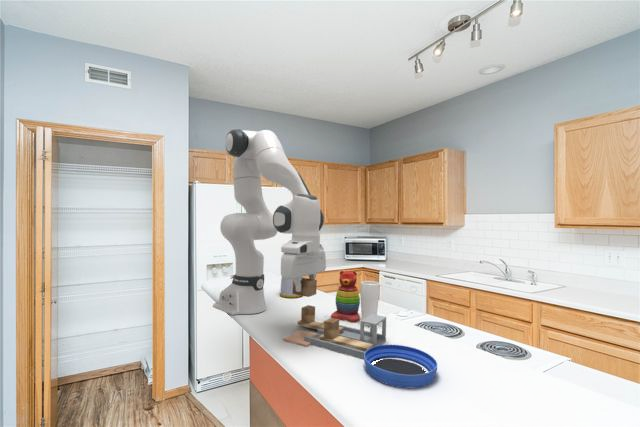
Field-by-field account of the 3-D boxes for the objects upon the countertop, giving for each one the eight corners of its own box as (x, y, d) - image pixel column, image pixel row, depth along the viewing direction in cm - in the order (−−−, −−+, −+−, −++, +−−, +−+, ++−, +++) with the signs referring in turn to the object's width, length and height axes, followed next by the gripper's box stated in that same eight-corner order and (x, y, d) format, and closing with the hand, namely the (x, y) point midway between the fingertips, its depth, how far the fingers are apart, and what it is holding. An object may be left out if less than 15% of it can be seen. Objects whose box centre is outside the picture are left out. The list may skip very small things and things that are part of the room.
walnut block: (292, 294, 103) (292, 279, 103) (300, 291, 107) (301, 277, 107) (308, 296, 100) (308, 282, 100) (316, 294, 104) (316, 279, 104)
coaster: (282, 340, 102) (282, 338, 102) (299, 331, 110) (299, 330, 110) (306, 346, 97) (306, 344, 97) (322, 337, 105) (322, 335, 105)
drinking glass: (378, 327, 116) (379, 285, 116) (358, 326, 117) (359, 283, 117) (378, 321, 122) (379, 281, 122) (360, 320, 124) (361, 280, 124)
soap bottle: (306, 294, 162) (308, 240, 162) (298, 299, 151) (299, 242, 151) (285, 291, 166) (287, 239, 166) (275, 297, 155) (277, 241, 155)
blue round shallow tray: (426, 399, 71) (426, 382, 72) (351, 375, 81) (352, 361, 81) (444, 368, 87) (444, 354, 87) (379, 351, 96) (379, 339, 96)
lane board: (304, 342, 100) (304, 317, 100) (330, 328, 114) (331, 306, 114) (364, 359, 90) (365, 331, 90) (385, 341, 103) (386, 316, 104)
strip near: (319, 340, 100) (319, 319, 100) (326, 336, 104) (326, 316, 104) (367, 353, 92) (368, 330, 92) (373, 348, 95) (374, 327, 95)
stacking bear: (329, 319, 124) (330, 271, 124) (337, 312, 133) (339, 268, 133) (356, 323, 120) (358, 274, 120) (363, 315, 129) (365, 270, 129)
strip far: (297, 324, 114) (298, 306, 114) (304, 321, 117) (304, 304, 117) (338, 334, 105) (338, 315, 105) (343, 331, 109) (344, 312, 109)
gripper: (315, 243, 114) (314, 283, 114) (277, 246, 97) (276, 294, 96) (331, 244, 111) (330, 285, 111) (294, 248, 93) (293, 297, 93)
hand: (304, 289), depth 103 cm, fingers closed on walnut block, 4 cm apart
